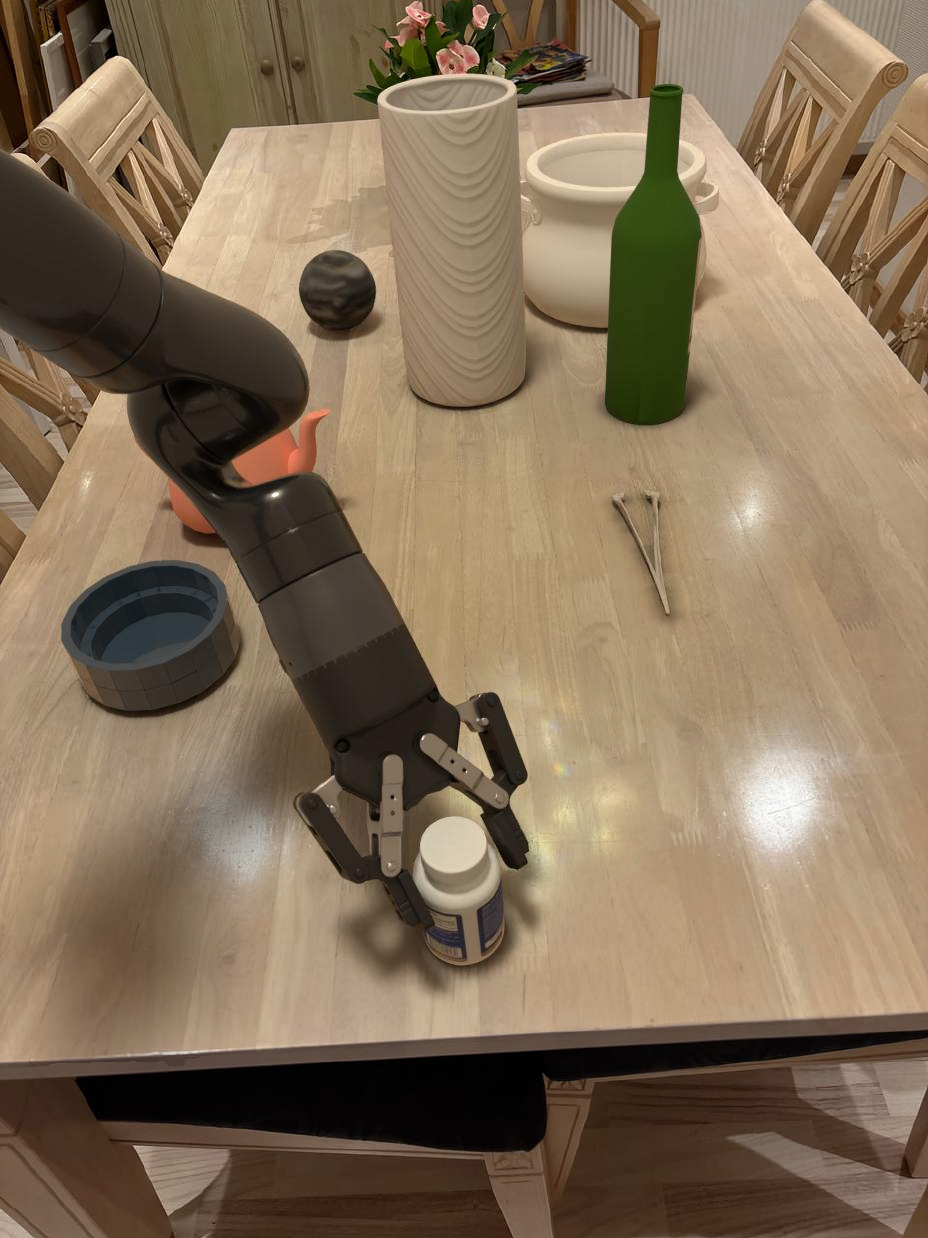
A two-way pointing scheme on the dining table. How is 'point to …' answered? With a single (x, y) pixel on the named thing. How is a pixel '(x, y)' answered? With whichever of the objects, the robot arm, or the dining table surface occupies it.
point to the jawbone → (659, 578)
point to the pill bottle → (460, 891)
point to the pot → (589, 218)
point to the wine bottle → (653, 279)
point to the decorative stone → (337, 290)
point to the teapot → (260, 466)
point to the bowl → (151, 634)
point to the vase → (456, 234)
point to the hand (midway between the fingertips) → (473, 894)
